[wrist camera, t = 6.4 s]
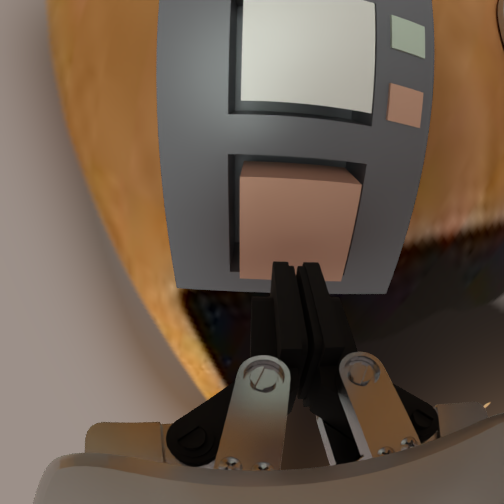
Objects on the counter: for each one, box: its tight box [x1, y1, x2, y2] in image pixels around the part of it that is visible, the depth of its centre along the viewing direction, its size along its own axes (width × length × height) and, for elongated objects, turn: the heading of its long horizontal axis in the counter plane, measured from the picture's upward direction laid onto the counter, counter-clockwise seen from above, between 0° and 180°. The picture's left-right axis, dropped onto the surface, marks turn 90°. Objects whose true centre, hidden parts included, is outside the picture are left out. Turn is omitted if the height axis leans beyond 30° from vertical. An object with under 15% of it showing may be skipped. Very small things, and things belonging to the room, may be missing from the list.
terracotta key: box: [240, 161, 362, 281], centre depth 15 cm, size 6×6×3 cm
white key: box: [241, 0, 375, 113], centre depth 10 cm, size 6×6×3 cm
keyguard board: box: [157, 0, 434, 294], centre depth 12 cm, size 14×28×5 cm, turn 179°
